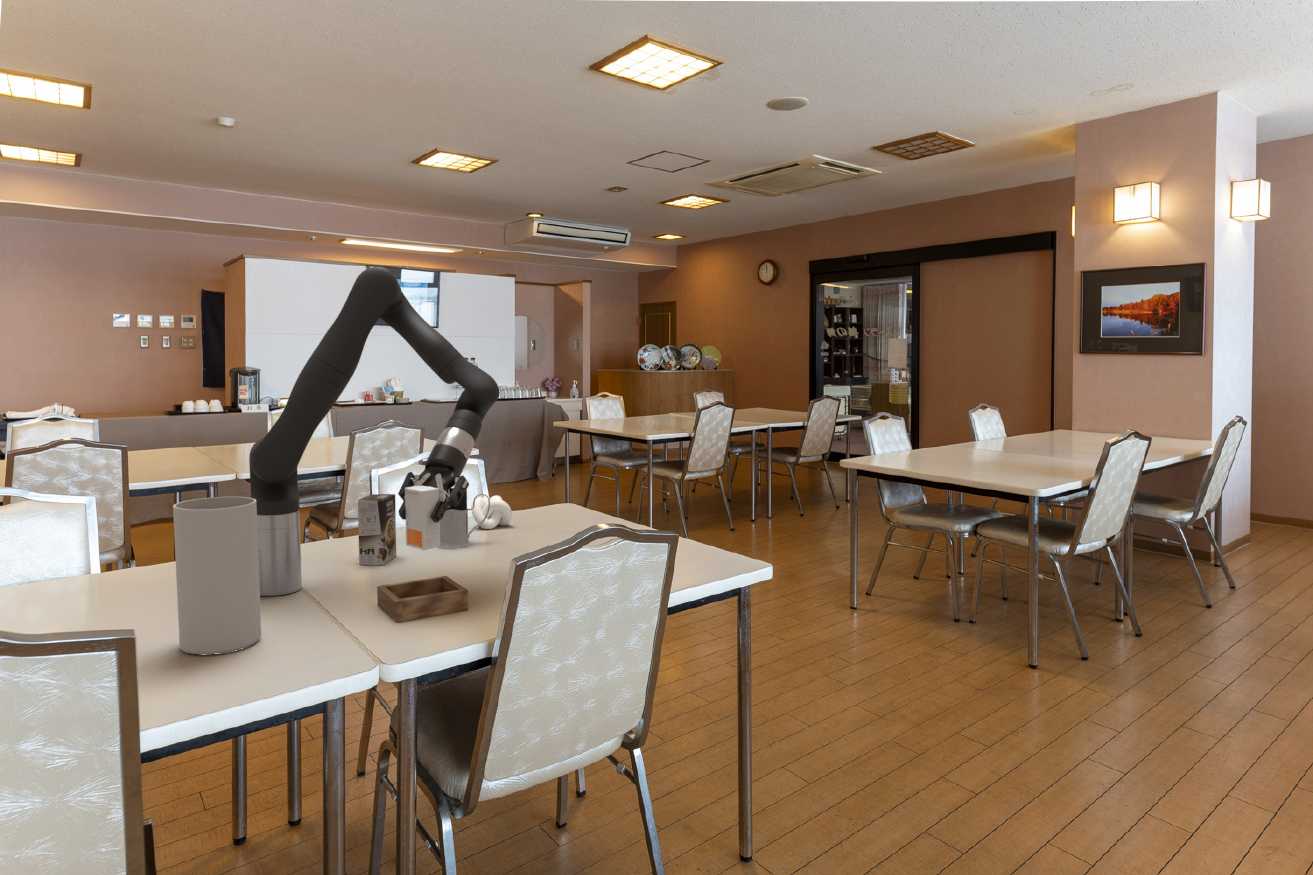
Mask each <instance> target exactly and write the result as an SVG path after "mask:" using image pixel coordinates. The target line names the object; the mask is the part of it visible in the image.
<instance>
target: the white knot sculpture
mask: <svg viewBox="0 0 1313 875" xmlns="http://www.w3.org/2000/svg"><path fill="white" fill-rule="evenodd" d="M489 499H490V509H489V513H488V515H487V517H486V519H485V521H484V522H483V523H482V524H481V525H480V526H479V527H480V528H482V529H484V530H487V529H489V530H492V528H493V529H495V528H496V527H497V526H499V525H504V526H507V525H509V523H511V521H512V518H513V511H512V509H511V506H510V505H509V504H508V502H506V501H505V500H503V498H502V497H501V496H500V495H498V494H497V495H493V496H491V497H489ZM488 505H489V502H488V499H486V498H485V497H480V496H478V497H477V498H476V499H475V505H474V509H473V510H470V511H471V515H472V517H473V519H474V522H476V523H477V525H478V524H479V523H480V522H481V521H482V520H483V519H484V517H485V516H486V513H487V511H488ZM471 508H473V502H472V503H471ZM471 508H470V509H471ZM506 524H507V525H506Z"/></svg>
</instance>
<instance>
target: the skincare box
mask: <svg viewBox="0 0 1313 875" xmlns="http://www.w3.org/2000/svg"><path fill="white" fill-rule="evenodd" d="M437 502H439V489H438V488H433V487H427V486H414V487H407V488H405V512H406V520H405V535H406V536H405V543H406V546H407V547H412V548H415V549H419V550H421V551H428V550H431V549H435V548H438V547H440V520H439V522H438V523H435V522H433V520H432V519H431V514H432V512H433V510H434V508H435V506H436V504H437Z"/></svg>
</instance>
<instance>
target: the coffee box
mask: <svg viewBox="0 0 1313 875" xmlns="http://www.w3.org/2000/svg"><path fill="white" fill-rule="evenodd" d="M396 512H397V511H396V493H395V494H394V493H392V494H390V493H379V494H375V493H374V494H370V495H367V496H364V497H362V498H360V499H358V500H357V515H358V516H357V517H358V518H357V519H358V521H357V522H358V523H357V524H358V532H357V533H358V565H360V566H361V565H362V566H364V565H365V566H367V565H369V566H385V564H387V563H389V562H390V561H392V560H393V559H394V558H396V557H397V523H396V522H397V521H396V520H397V519H396V518H397V517H396V514H397V513H396Z"/></svg>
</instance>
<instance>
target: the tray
mask: <svg viewBox="0 0 1313 875" xmlns="http://www.w3.org/2000/svg"><path fill="white" fill-rule="evenodd" d="M376 589H377V590H376V591H377V593H376V595H377V598H376V599H377V602H376V603H377V606H378V607H379V608H380V609H381V610H382V611H383V612H384V613H385V614H386V615H388V617H390V618H391V619H392V620H393V621H394V622H395V623H400V622H406V621H412V620H416V619H417V618H418V619H423V618H428V617H434V616H440V615H444V614H450V612H451V613H455V612H456V611H457V612H461V611H466V610H469V590H468V589H467V588H466V587H464V586H462V585H461V584H459V583H458V582H456V581H455V580H453V579H452V578H450V577H449V576H447V575H443V576H436V577H429V578H422V579H416V580H408V581H402V582H396V583H390V584H383V585H382V584H381V585H377V586H376ZM457 612H456V613H457ZM418 619H417V620H418Z"/></svg>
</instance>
